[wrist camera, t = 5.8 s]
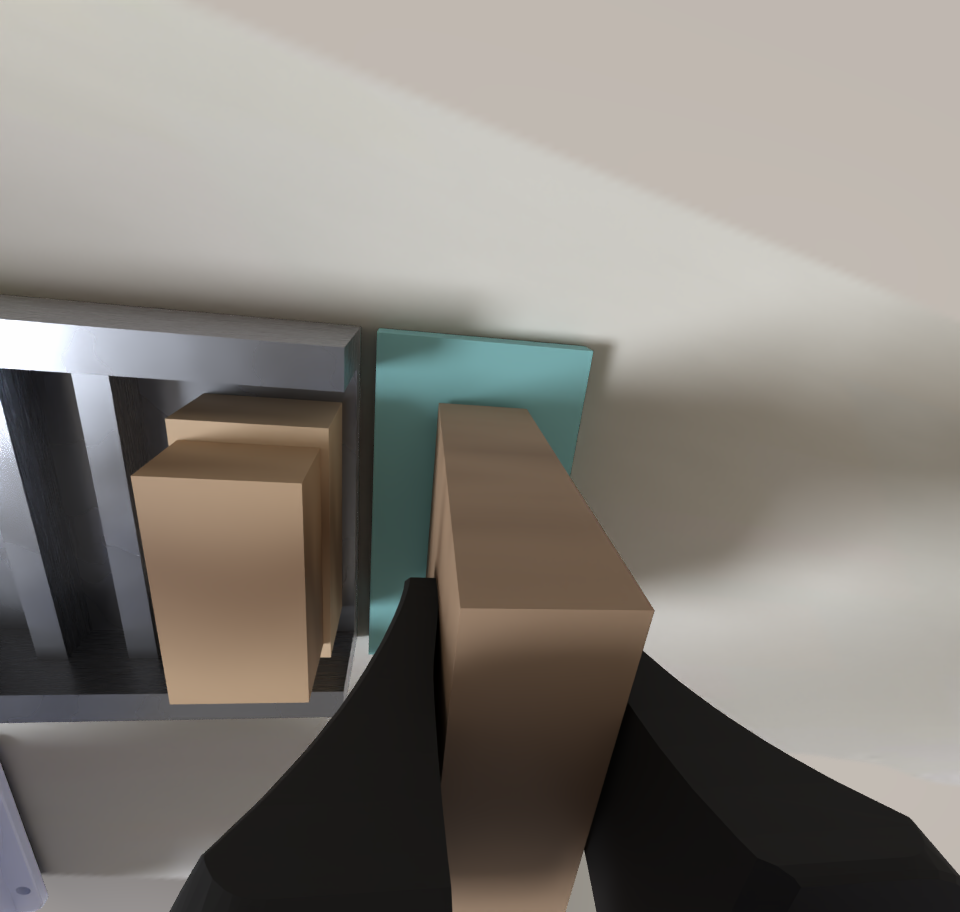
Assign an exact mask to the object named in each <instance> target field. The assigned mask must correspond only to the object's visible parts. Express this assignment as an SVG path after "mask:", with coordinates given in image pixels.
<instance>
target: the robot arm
mask: <svg viewBox="0 0 960 912" xmlns="http://www.w3.org/2000/svg"><path fill="white" fill-rule="evenodd" d="M438 607H439V601H438V591H437V582H436V578H421V577H410V578H408V579H407V580H406V581H405V582H404V589H403V592H402V596H401V599H400V602H399V604H398V607H397V609H396V612H395V614H394V617H393V619H392V621H391V623H390V625H389V627H388V629H387V631H386V633H385V635H384V637H383V639H382V641H381V643H380V645H379V647H378V648H377V650H376V652H375V654H374V655H373V657H372V659H371V660H370V662H369V664H368V666H367V667H366V669H365V671H364V672H363V674H362V676H361V677H360V679H359V680H358V682H357V683H356V685H355V686H354V688H353V689H352V691H351V692H350V694H349V695H348V696H347V698H346V699H345V701H344V702H343V704H342V705H341V706H340V708H339V709H338V710H337V712H336V713H335V714H334V716H333V717H332V718H331V719H330V721H329V722H328V723H327V725H326V726H325V727H324V728H323V730H322V731H321V732H320V734H319V735H318V736H317V737H316V739H315V740H314V741H313V742H312V743H311V745H310V746H309V747H308V748H307V749H306V750H305V752H304V753H303V754H302V755H301V756H300V757H299V758H298V759H297V761H296V762H295V763H294V764H293V765H292V766H291V767H290V768H289V769H288V770H287V771H286V773H285V774H284V775H283V776H282V777H281V778H280V779H279V780H278V781H277V782H276V783H275V784H274V786H273V787H272V788H271V789H270V790H269V791H268V792H267V793H266V794H265V795H264V796H263V797H262V798H261V799H260V800H259V801H258V802H257V803H256V804H255V805H254V806H253V807H252V808H251V809H250V810H249V811H248V812H247V813H246V814H245V815H244V816H243V817H242V818H241V819H240V820H239V821H237V822H236V823H235V824H234V825H233V826H232V827H231V828H230V829H229V830H228V831H227V832H226V833H225V834H224V835H223V836H222V837H221V838H220V839H219V840H217V841H216V842H215V843H214V844H213V845H212V846H211V847H210V848H209V849H208V850H207V851H206V852H205V853H204V854H203V855H202V856H201V857H200V859H199V860H198V862H197V864H196V865H195V867H194V869H193V870H192V872H191V874H190V875H189V877H188V879H187V881H186V882H185V884H184V886H183V888H182V889H181V891H180V893H179V895H178V897H177V899H176V901H175V902H174V904H173V906H172V908H171V910H170V912H453V911H452V890H451V880H450V871H449V863H448V854H447V845H446V835H445V825H444V816H443V806H442V795H441V783H440V771H439V760H438V747H437V732H436V718H435V701H434V683H433V668H434V653H435V641H436V630H437V618H438ZM584 851H585V856H586V861H587V865H588V870H589V875H590V881H591V886H592V891H593V896H594V901H595V906H596V911H597V912H960V875H959V874H958V873H957V872H956V871H955V870H954V869H953V867H952V866H951V865H950V864H949V863H948V862H947V860H946V859H945V858H944V857H943V856H942V854H941V853H940V852H939V851H938V850H937V849H936V848H935V846H934V845H933V844H932V843H931V842H930V841H929V839H928V838H927V837H926V836H925V835H924V834H923V832H922V831H921V830H920V829H919V828H918V827H917V825H916V824H915V823H914V822H913V821H912V820H911V819H910V818H909V817H907V816H905V815H903V814H901V813H899V812H897V811H895V810H893V809H891V808H889V807H887V806H885V805H883V804H881V803H879V802H877V801H875V800H873V799H871V798H869V797H867V796H865V795H863V794H861V793H859V792H857V791H855V790H853V789H851V788H849V787H847V786H845V785H842V784H840V783H838V782H837V781H834V780H833V779H831V778H829V777H827V776H825V775H824V774H821V773H820V772H818V771H816V770H815V769H813V768H811V767H809V766H807V765H806V764H804V763H802V762H800V761H798V760H797V759H795V758H793V757H791V756H789V755H788V754H786V753H784V752H783V751H781V750H779V749H778V748H776V747H774V746H773V745H771V744H769V743H768V742H766V741H764V740H763V739H761V738H760V737H758V736H757V735H755V734H753V733H752V732H750V731H749V730H747V729H746V728H744V727H743V726H741V725H740V724H738V723H736V722H735V721H733V720H732V719H730V718H729V717H727V716H726V715H724V714H723V713H722V712H720V711H719V710H717V709H716V708H714V707H713V706H711V705H710V704H709V703H707V702H706V701H705V700H703V699H702V698H701V697H699V696H698V695H697V694H695V693H694V692H693V691H691V690H690V689H689V688H687V687H686V686H685V685H683V684H682V683H681V682H679V681H678V680H677V679H676V678H674V677H673V676H672V675H671V674H669V673H668V672H667V671H666V670H665V669H664V668H662V667H661V666H660V665H659V664H658V663H657V662H655V661H654V660H653V659H652V658H651V657H650V656H648V655H647V654H646V653H645V652H644V651H642V655H641V658H640V661H639V665H638V668H637V671H636V675H635V678H634V682H633V685H632V688H631V692H630V695H629V698H628V702H627V705H626V709H625V712H624V715H623V719H622V722H621V726H620V729H619V732H618V736H617V739H616V742H615V746H614V749H613V753H612V756H611V759H610V763H609V766H608V769H607V773H606V776H605V780H604V783H603V786H602V790H601V793H600V797H599V800H598V803H597V807H596V810H595V813H594V817H593V820H592V824H591V827H590V830H589V834H588V837H587V841H586V844H585V847H584ZM47 898H48V892H47V890H46V887H45V884H44V881H43V879H42V876H41V873H40V870H39V868H38V865H37V862H36V859H35V857H34V854H33V851H32V848H31V846H30V843H29V840H28V837H27V835H26V832H25V829H24V826H23V823H22V821H21V818H20V815H19V812H18V810H17V807H16V804H15V801H14V799H13V796H12V793H11V790H10V788H9V785H8V782H7V779H6V777H5V774H4V771H3V768H2V766H1V763H0V912H32V911H37V910H39V909H41V908H42V907H43V905H44V904H45V902H46V900H47Z"/></svg>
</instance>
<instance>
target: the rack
mask: <svg viewBox="0 0 960 912" xmlns="http://www.w3.org/2000/svg"><path fill="white" fill-rule="evenodd" d="M360 365H361V326H351V325H340V324H328V323H317V322H306V321H294V320H283V319H272V318H261V317H249V316H238V315H227V314H215V313H204V312H193V311H181V310H170V309H159V308H148V307H136V306H125V305H114V304H102V303H91V302H80V301H69V300H57V299H46V298H35V297H23V296H12V295H1V294H0V723H28V722H82V721H136V720H191V719H245V718H300V717H333V716H334V714H335V713H336V712H337V710H338V709H339V708H340V706H341V705H342V704H343V702H344V701H345V699H346V698H347V693H348V687H349V681H350V675H351V669H352V663H353V657H354V651H355V645H356V639H357V577H358V506H359V436H360ZM203 393H207V394H222V395H237V396H252V397H266V398H281V399H296V400H311V401H326V402H341V403H342V610H341V614H340V619H339V623H338V628H337V632H336V637H335V641H334V646H333V650H332V655H331V657H320V660H319V664H318V668H317V672H316V676H315V680H314V684H313V688H312V692H311V696H310V700H309V702H304V703H234V704H170V702H169V696H168V690H167V685H166V679H165V673H164V667H163V661H162V656H161V650H160V644H159V638H158V632H157V626H156V621H155V615H154V609H153V603H152V597H151V592H150V586H149V580H148V574H147V568H146V563H145V557H144V551H143V545H142V539H141V533H140V528H139V522H138V516H137V510H136V504H135V499H134V493H133V487H132V481H131V475H132V474H134V473H135V472H136V471H137V470H139V469H140V468H141V467H143V466H144V465H145V464H147V463H148V462H149V461H150V460H152V459H153V458H154V457H156V456H157V455H158V454H159V453H161V452H162V451H163V450H165V449H166V448H167V447H169V445H168V438H167V430H166V423H165V418H167V417H168V416H170V415H171V414H173V413H174V412H176V411H178V410H179V409H181V408H182V407H184V406H185V405H187V404H188V403H190V402H191V401H193V400H194V399H196V398H197V397H199V396H200V395H202V394H203Z"/></svg>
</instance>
